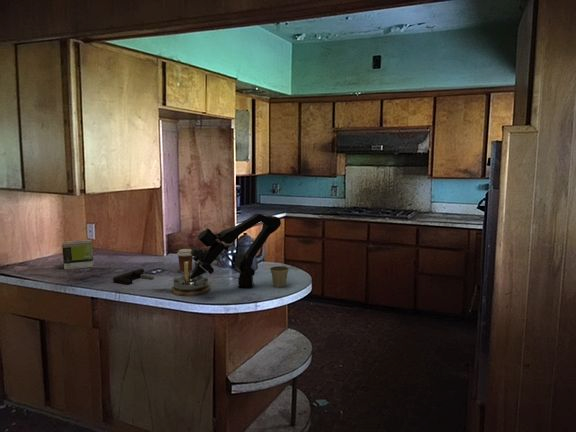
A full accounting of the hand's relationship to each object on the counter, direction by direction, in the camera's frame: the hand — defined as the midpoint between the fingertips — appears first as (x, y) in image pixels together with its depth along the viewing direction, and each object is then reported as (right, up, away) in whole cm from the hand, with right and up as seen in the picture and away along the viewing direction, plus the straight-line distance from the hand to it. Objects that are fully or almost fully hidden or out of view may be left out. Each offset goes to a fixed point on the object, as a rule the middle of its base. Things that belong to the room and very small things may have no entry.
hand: (190, 278), depth 216 cm
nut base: (-1, -7, +8) cm, 10 cm away
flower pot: (+41, -6, +15) cm, 44 cm away
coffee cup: (-11, -2, +42) cm, 43 cm away
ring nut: (-1, -5, +8) cm, 9 cm away
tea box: (-75, -1, +54) cm, 92 cm away
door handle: (-34, -5, +27) cm, 44 cm away
